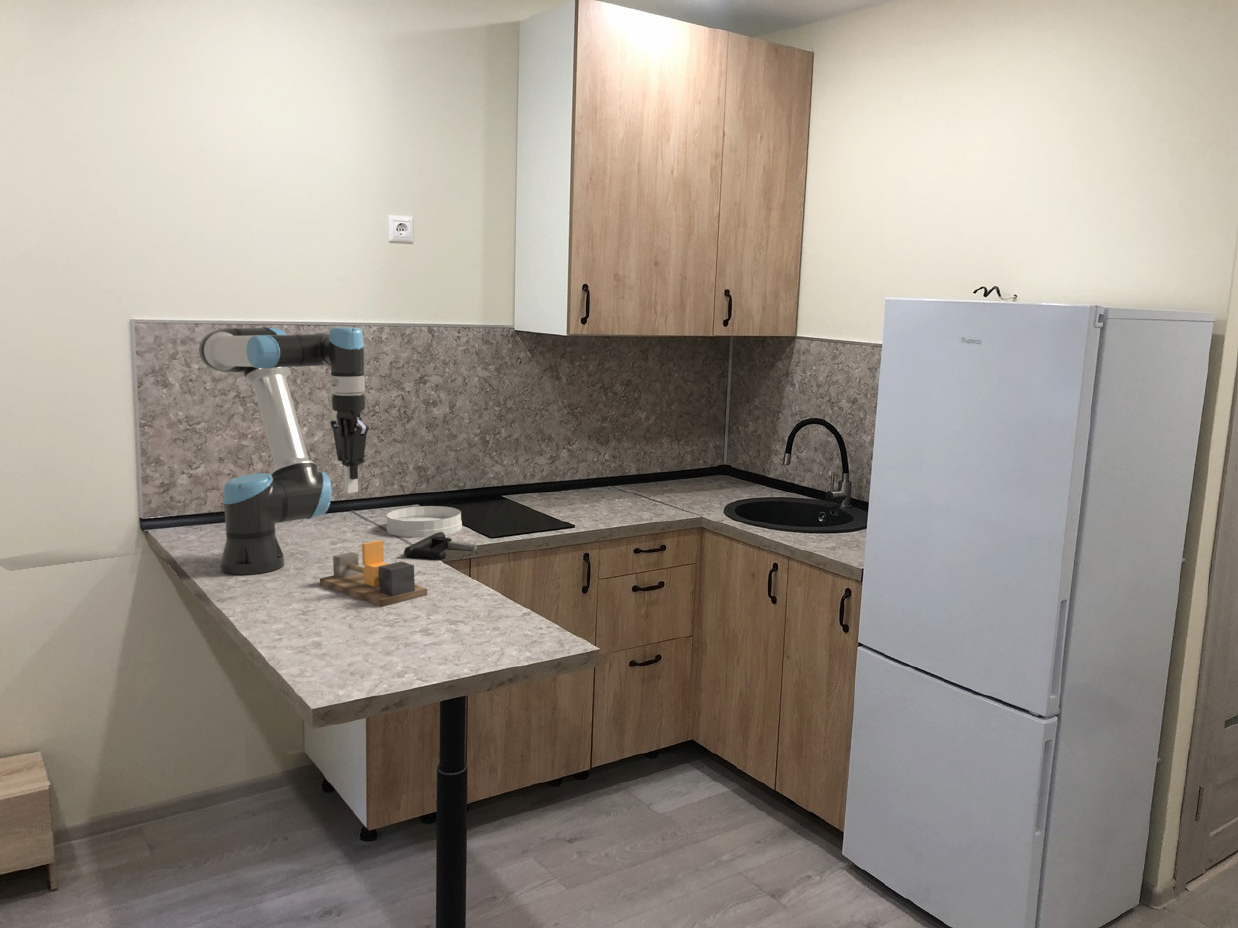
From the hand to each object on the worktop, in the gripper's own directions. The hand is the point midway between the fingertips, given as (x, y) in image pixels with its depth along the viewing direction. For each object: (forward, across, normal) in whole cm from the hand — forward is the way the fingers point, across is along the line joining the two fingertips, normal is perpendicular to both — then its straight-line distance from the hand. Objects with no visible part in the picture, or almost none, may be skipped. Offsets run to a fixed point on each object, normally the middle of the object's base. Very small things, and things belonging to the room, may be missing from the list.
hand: (351, 491), depth 233 cm
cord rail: (+21, +11, -2) cm, 24 cm away
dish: (+23, -33, +45) cm, 60 cm away
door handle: (+23, -7, +32) cm, 40 cm away
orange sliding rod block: (+19, +13, -2) cm, 23 cm away
